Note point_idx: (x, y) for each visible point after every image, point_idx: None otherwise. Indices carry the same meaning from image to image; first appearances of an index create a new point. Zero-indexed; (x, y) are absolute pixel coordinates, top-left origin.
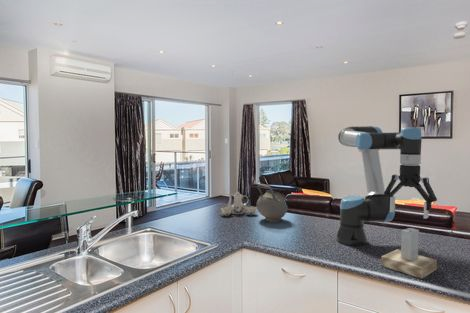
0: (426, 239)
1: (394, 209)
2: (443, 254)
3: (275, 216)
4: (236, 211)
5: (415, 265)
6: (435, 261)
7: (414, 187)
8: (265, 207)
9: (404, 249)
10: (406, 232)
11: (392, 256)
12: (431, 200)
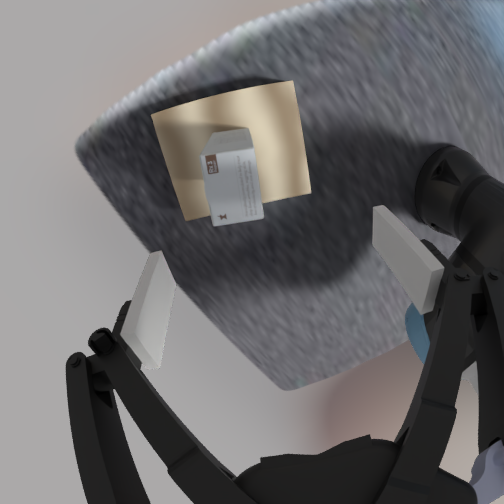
0: (332, 349)
1: (377, 249)
2: (255, 310)
3: None
4: None
5: (177, 115)
6: (182, 210)
7: (210, 460)
8: None
9: (235, 134)
10: (226, 149)
11: (272, 114)
12: (84, 360)
